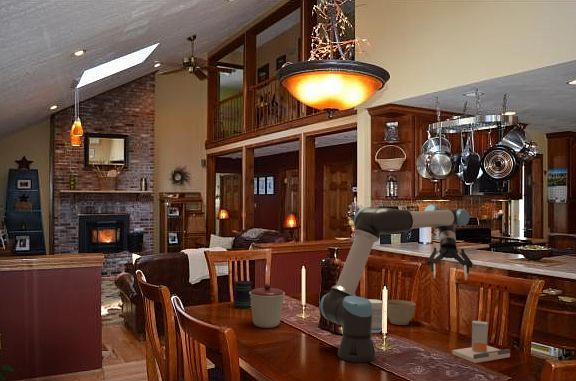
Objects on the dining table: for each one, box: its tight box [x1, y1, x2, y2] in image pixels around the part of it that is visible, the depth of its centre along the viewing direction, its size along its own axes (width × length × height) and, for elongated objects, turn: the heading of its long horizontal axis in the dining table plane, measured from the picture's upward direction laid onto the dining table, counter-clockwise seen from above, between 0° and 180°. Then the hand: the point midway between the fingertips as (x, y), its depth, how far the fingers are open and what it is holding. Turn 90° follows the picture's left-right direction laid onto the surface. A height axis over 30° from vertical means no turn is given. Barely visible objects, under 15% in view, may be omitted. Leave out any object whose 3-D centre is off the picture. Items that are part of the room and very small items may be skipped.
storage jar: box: [233, 280, 252, 310], centre depth 276 cm, size 10×10×15 cm
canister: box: [249, 282, 286, 329], centre depth 236 cm, size 18×18×21 cm
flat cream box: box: [451, 344, 511, 364], centre depth 196 cm, size 20×12×3 cm, turn 116°
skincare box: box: [471, 320, 489, 353], centre depth 197 cm, size 6×4×12 cm
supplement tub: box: [368, 299, 383, 334], centre depth 231 cm, size 10×10×15 cm
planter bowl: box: [386, 299, 417, 326], centre depth 247 cm, size 16×16×11 cm
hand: (450, 277), depth 213 cm, fingers open, 13 cm apart
